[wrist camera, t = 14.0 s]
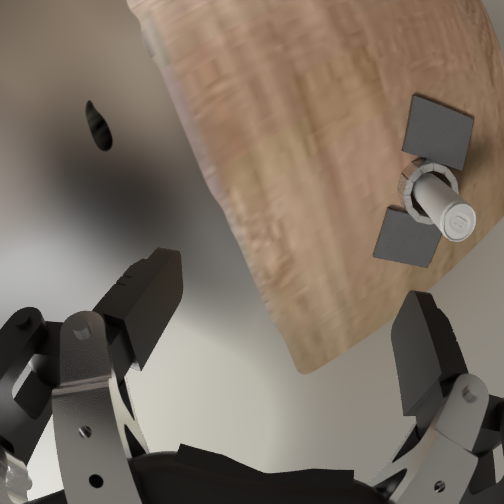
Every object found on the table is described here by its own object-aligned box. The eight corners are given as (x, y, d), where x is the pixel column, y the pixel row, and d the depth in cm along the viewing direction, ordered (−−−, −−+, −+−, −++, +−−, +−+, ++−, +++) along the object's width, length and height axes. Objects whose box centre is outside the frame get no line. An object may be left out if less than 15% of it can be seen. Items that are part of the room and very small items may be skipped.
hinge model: (412, 95, 29) (419, 95, 27) (470, 118, 28) (481, 121, 26) (372, 254, 42) (375, 265, 40) (426, 265, 41) (431, 275, 38)
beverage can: (430, 208, 36) (464, 248, 26) (405, 195, 36) (434, 234, 26) (444, 179, 34) (483, 213, 24) (418, 166, 34) (454, 195, 24)
